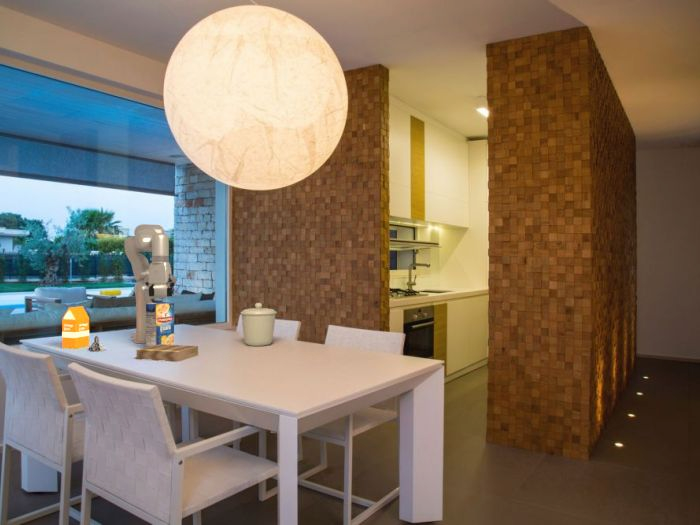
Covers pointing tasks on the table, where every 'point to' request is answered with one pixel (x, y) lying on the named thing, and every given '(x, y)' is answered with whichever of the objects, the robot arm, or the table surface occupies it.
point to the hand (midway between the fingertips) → (160, 296)
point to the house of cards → (96, 348)
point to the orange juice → (75, 328)
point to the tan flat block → (167, 352)
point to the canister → (258, 325)
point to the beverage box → (159, 324)
